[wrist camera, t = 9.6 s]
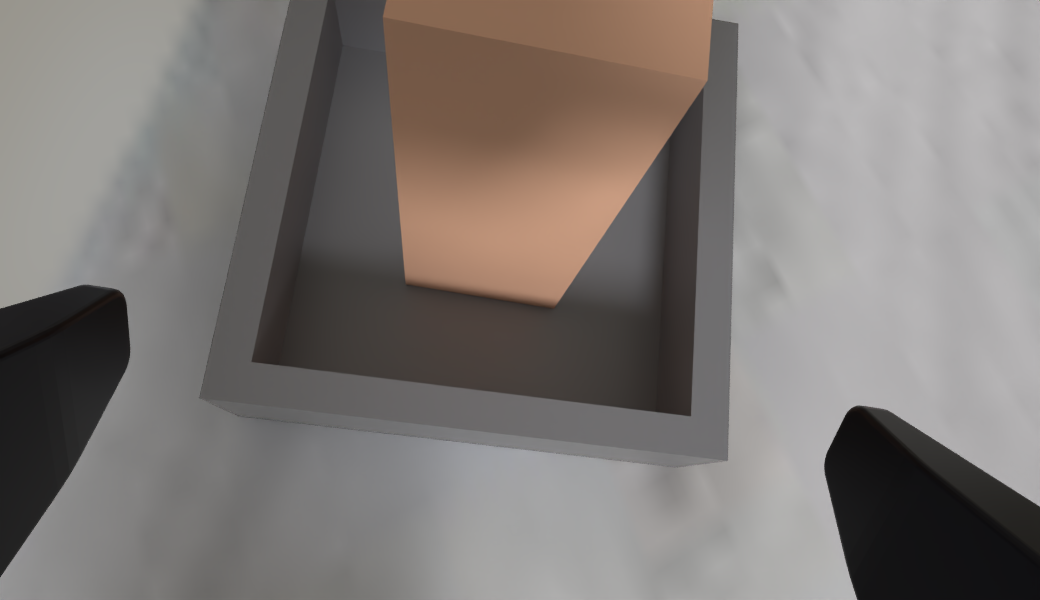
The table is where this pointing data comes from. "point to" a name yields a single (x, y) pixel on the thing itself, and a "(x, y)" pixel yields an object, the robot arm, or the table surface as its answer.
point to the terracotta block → (529, 130)
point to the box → (460, 317)
